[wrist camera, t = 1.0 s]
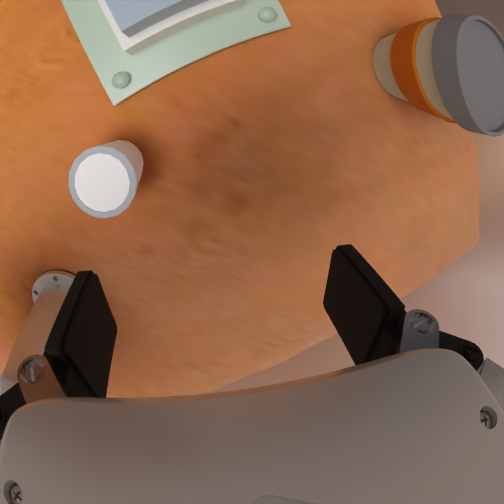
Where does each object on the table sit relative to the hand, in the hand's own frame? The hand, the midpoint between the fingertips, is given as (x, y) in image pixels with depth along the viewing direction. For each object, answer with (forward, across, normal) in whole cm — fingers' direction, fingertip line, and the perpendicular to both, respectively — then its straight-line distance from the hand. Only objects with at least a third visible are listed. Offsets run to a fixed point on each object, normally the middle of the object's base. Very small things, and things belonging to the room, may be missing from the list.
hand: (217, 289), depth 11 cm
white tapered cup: (+22, +9, -1) cm, 24 cm away
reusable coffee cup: (+22, -25, -13) cm, 35 cm away
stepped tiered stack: (+22, +4, -20) cm, 30 cm away
